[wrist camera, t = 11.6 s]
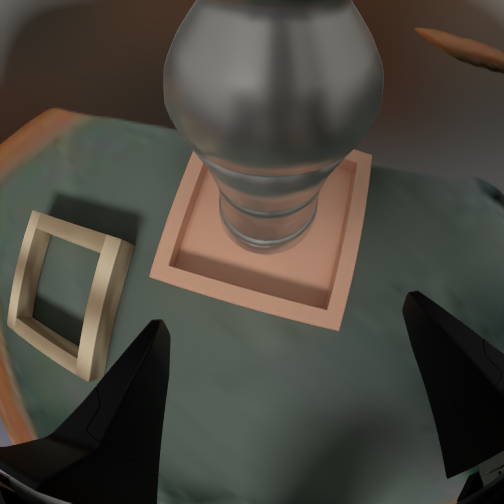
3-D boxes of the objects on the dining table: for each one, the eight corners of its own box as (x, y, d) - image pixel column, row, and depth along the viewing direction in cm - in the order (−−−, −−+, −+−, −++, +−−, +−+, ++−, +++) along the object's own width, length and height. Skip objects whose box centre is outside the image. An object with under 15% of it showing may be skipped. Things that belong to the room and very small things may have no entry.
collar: (103, 375, 20) (88, 382, 18) (22, 324, 21) (7, 324, 19) (135, 245, 22) (121, 239, 20) (47, 216, 23) (32, 210, 21)
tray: (332, 328, 20) (338, 331, 18) (158, 279, 21) (149, 276, 19) (364, 165, 22) (372, 155, 20) (212, 128, 24) (208, 116, 22)
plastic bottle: (207, 216, 21) (50, -36, 2) (271, 162, 22) (275, -102, 2) (263, 278, 20) (252, -42, 1) (328, 218, 21) (488, -27, 1)
